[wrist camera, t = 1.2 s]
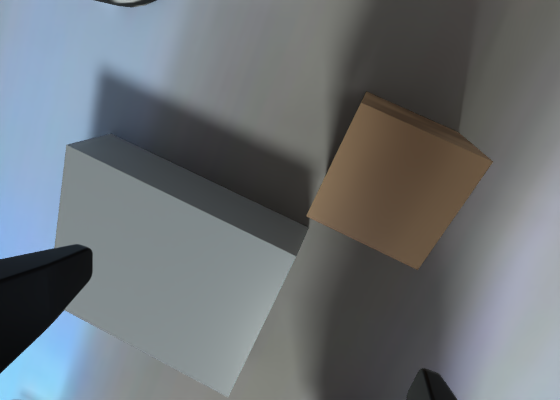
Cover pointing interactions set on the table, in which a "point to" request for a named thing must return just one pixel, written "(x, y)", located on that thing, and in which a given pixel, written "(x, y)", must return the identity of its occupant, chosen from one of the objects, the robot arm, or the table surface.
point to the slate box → (172, 257)
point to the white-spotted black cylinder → (127, 2)
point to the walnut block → (397, 181)
